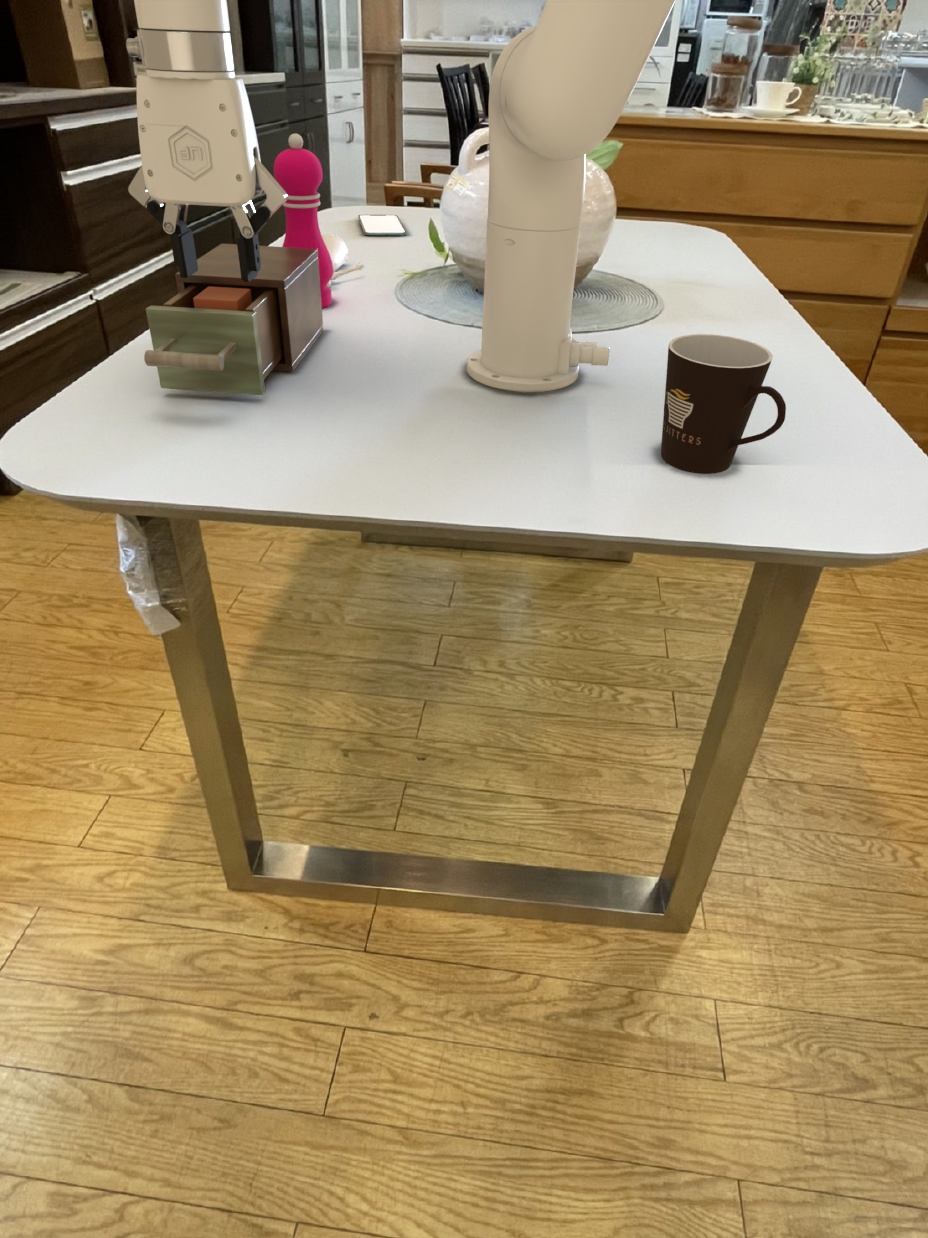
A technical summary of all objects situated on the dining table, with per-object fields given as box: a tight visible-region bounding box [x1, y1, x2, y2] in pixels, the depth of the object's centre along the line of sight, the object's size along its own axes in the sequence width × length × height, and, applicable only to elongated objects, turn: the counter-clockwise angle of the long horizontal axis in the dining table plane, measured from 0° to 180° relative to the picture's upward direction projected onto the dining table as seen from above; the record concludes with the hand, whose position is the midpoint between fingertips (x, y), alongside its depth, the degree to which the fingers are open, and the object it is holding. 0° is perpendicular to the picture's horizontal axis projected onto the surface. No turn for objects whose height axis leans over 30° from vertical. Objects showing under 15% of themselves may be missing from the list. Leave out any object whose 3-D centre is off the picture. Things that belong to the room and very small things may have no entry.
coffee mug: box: [660, 333, 787, 475], centre depth 70 cm, size 12×9×10 cm
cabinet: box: [174, 243, 324, 373], centre depth 92 cm, size 15×12×10 cm
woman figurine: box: [321, 234, 365, 288], centre depth 121 cm, size 12×4×18 cm
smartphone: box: [357, 214, 407, 236], centre depth 151 cm, size 8×1×16 cm
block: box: [193, 287, 252, 311], centre depth 83 cm, size 4×4×4 cm
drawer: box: [143, 283, 284, 396], centre depth 82 cm, size 19×10×8 cm, turn 175°
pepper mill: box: [273, 133, 333, 309], centre depth 104 cm, size 7×7×20 cm
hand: (219, 274), depth 80 cm, fingers open, 5 cm apart
